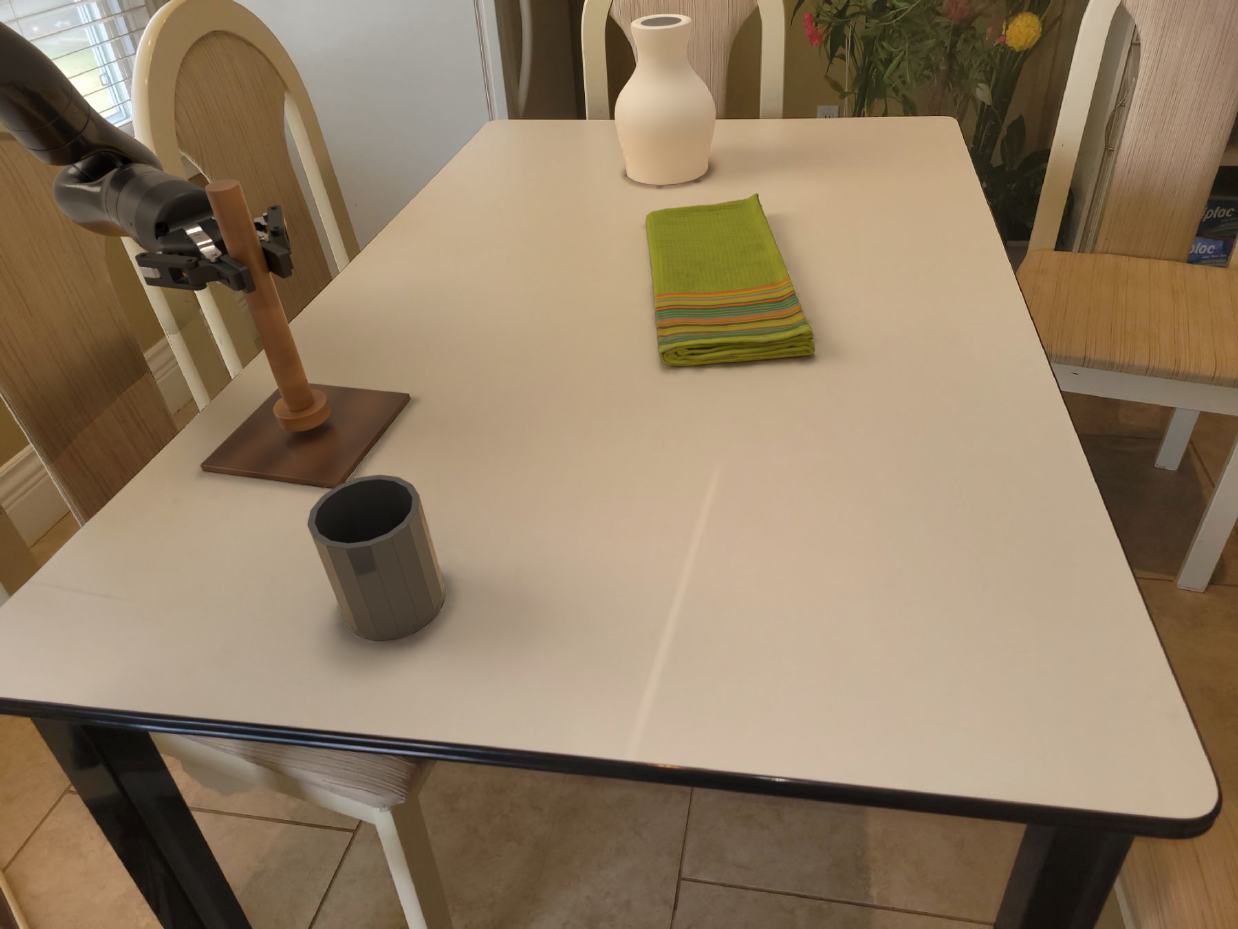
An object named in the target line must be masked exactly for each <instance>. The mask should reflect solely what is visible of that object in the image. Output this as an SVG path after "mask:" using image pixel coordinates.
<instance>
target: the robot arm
mask: <svg viewBox="0 0 1238 929" xmlns="http://www.w3.org/2000/svg"><path fill="white" fill-rule="evenodd" d="M0 125H2V127H3V128H4V129H6V131H8V133H9V134H11V135H12V136H13V138H14V139H16V141H18V142H19V143H20V144H21V145H22V147H23V148H24V149H25V150H26V151H28V152H29V153H30V155H32V156H33V157H34V158H35V159H37V160H39V161H40V162H41V163H44V164H46V165H49V166H53V167H63V168H62V169H61V170H60V171H59V172H58V173H57V174H56V175H55V177H54V179H53V181H52V188H51V193H52V196H53V200H54V202H55V205H56V206H57V207H58V208H59V210H60V211H61V212H62V213H63V214H64V215H65V217H67V218H68V219H69V220H70V221H72V222H73V223H74V224H75V225H77V226H79V227H80V228H82V229H84V230H86V231H89V232H91V233H94V234H97V235H101V236H105V237H112V238H131V239H132V240H133V242H134V243H136V244H137V245H138V247H140V248H141V249H143V250H145V252H143V251H142V252H140V253H138V254H136V255H135V256H134V259H135V262H136V263H137V266H138V268H139V271H140V272H141V275H142V278H143V279H144V281H145V284H146V286H150V287H159V288H166V289H175V290H182V291H183V290H184V291H193V292H199V291H203V290H205V289H207V288H208V287H209V286H208V283H212V282H214V283H215V284H216V285H218V286H225V287H228V288H229V289H231V290H232V291H235V292H239V291H241V292H242V293H243V292H245V293H247V294H248V293H251V292H253V291H256V287H255V284H254V281H253V278H252V276H251V273H250V270H249V269H248V267H247V266H246V265H244V264H243V263H241V262H239V261H237V260H236V259H234V258H232V257H230V256H229V254H228V251H227V248H226V245H225V243H224V240H223V237H222V235H221V232H220V229H219V227H218V224H217V221H216V218H215V216H214V213H213V210H212V208H211V205H210V202H209V199H208V197H207V194H206V191H205V188H203V187H201V186H199V185H197V184H195V183H192V182H191V181H188V180H187V179H185V178H182V177H180V176H177V175H174V174H169V173H167V172H165V171H164V167H163V165H162V163H161V161H160V159H159V158H158V156H157V155H156V153H154V152H153V150H151V149H150V148H149V147H148V146H146V145H145V144H144V143H142V142H141V141H140V140H138V139H137V138H135V137H134V136H132V135H130V134H129V133H127V132H125V131H124V130H122V129H120V128H119V127H117V126H115V125H114V124H113V123H112V122H110V121H109V120H107V119H106V118H105V117H103V116H102V115H101V114H100V113H99V112H98V111H97V110H96V109H95V108H94V107H93V106H92V105H91V104H90V103H89V102H88V100H87V99H86V98H85V97H84V96H83V95H82V93H81V92H80V91H79V90H78V89H77V87H75V85H74V84H73V83H72V82H71V81H70V79H69V78H68V77H67V76H66V75H65V73H63V71H62V70H61V69H60V68H59V67H58V66H57V65H56V64H55V62H53V60H52V59H51V58H50V57H48V56H47V55H46V54H45V52H43V51H42V50H41V49H40V48H38V47H37V46H36V45H35V44H34V43H33V42H31V41H29V40H28V39H27V38H26V37H24V36H23V35H21V34H20V33H18V32H17V31H15V29H13V28H11V27H10V26H8V25H7V24H6V23H4V22H3V21H2V20H0ZM251 217H252V220H253V223H254V226H255V228H256V231H257V234H258V237H259V240H260V243H261V246H262V249H263V252H264V255H265V258H266V261H267V263H268V266H269V269H270V272H271V274H274V275H276V276H278V277H280V278H281V279H284V280H285V279H287V278H290V277H292V276H293V271H292V270H294V269H295V268H294V265H293V264H294V263H293V261H292V258H291V255H292V254H293V249H292V243H291V235H290V231H289V228H288V225H287V221H286V218H285V215H284V212H283V209H282V206H281V205H279V204H273V205H270V206H267V208H266V212H263V213H262V215H261V216H258V217H253V216H252V215H251ZM185 275H186V276H185Z"/></svg>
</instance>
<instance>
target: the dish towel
mask: <svg viewBox="0 0 1238 929" xmlns="http://www.w3.org/2000/svg"><path fill="white" fill-rule="evenodd" d="M759 197H760V196H759V193H757V192H756V193H754V194H752V195H751V196H749V197H747V198H743V199H736V200H735V199H734V200H730V201H724V202H719V203H718V202H717V203H713V204H712V203H710V204H697V205H690V206H689V205H688V206H678V207H667V208H663V209H657V210H653V211H650V212H648V213H647V214H646V216H645V228H646V234H647V235H646V236H647V243H648V251H649V258H650V266H651V276H652V278H651V279H652V288H653V297H654V312H655V327H656V336H657V345H658V354H659V357H660V360H661V362H662V363H663V364H665V365H669V366H672V367H673V366H676V367H685V366H686V367H687V366H688V367H691V366H701V365H708V364H719V363H733V362H739V363H740V362H745V361H759V360H761V361H762V360H770V359H780V358H790V357H793V358H794V357H805V356H810V355H812V354H814V353H815V352H816V343H815V340H814V333H813V327H811V325H810V324H809V322H808V319H807V318H806V316H805V314H804V312H803V309H802V305H801V304H800V300H799V298H798V296H797V294H796V293H797V292H796V290H795V287H794V284H793V282H792V280H791V277H790V274H789V272H788V269H787V267H786V263H785V261H784V258H783V255H782V253H781V250H780V249H779V246H778V243H777V241H776V238H775V235H774V233H773V230H772V229H771V227H770V224H769V222H768V219H767V217H766V214H765V211H764V209H763V205H762V203H761V201H760V199H759Z"/></svg>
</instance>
